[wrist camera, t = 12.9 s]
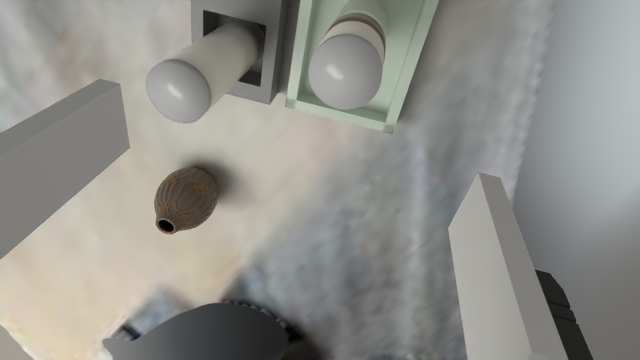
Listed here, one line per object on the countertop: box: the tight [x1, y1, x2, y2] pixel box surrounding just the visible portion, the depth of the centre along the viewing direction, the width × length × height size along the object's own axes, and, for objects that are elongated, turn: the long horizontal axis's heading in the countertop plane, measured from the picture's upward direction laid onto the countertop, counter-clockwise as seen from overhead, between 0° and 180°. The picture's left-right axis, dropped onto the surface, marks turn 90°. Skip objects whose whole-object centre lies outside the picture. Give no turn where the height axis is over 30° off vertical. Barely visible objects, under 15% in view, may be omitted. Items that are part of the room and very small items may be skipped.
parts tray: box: [285, 0, 439, 134], centre depth 33 cm, size 18×11×3 cm, turn 169°
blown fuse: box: [309, 0, 388, 110], centre depth 28 cm, size 4×4×14 cm
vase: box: [154, 168, 218, 234], centre depth 45 cm, size 7×7×9 cm
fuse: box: [146, 18, 265, 123], centre depth 31 cm, size 4×4×14 cm
